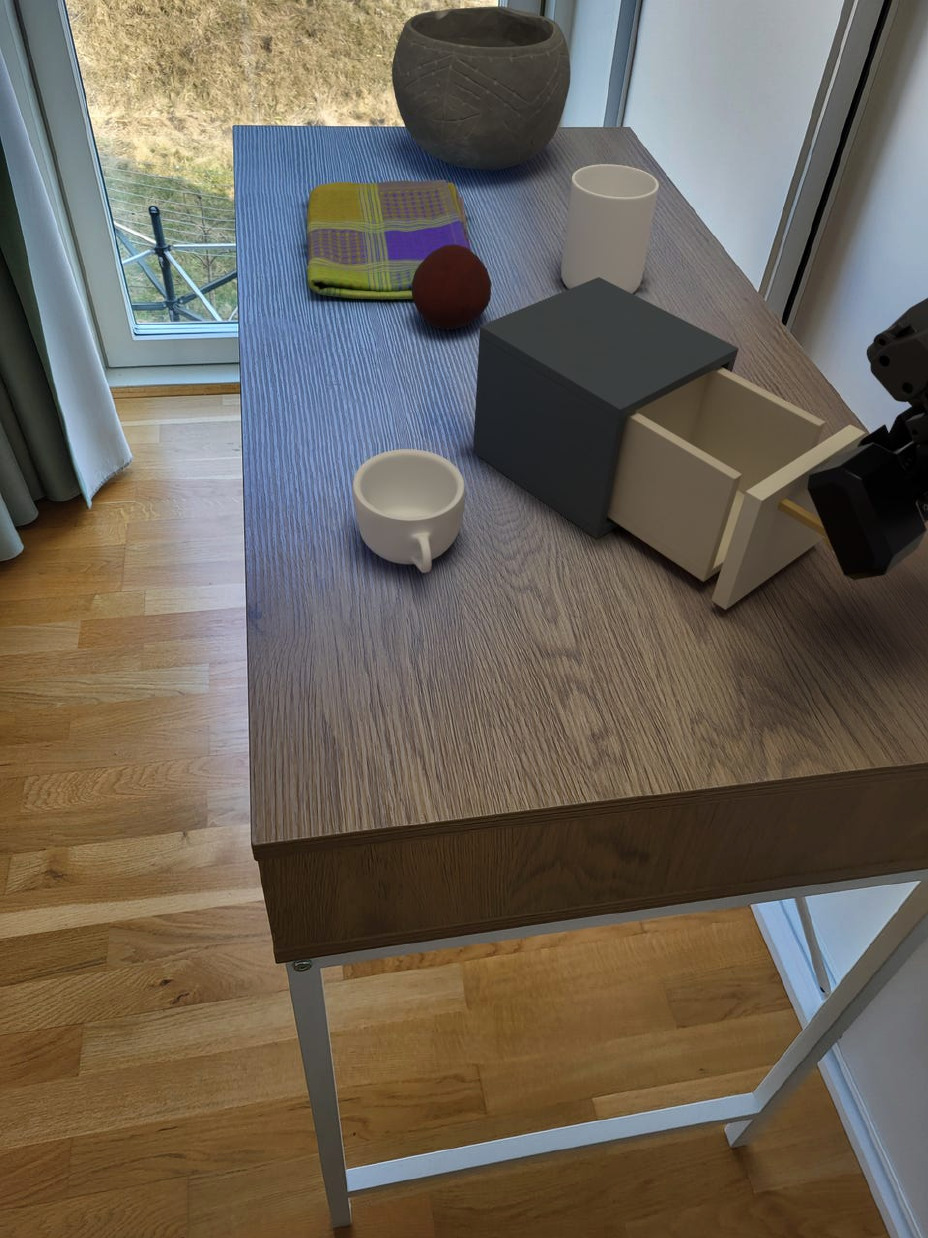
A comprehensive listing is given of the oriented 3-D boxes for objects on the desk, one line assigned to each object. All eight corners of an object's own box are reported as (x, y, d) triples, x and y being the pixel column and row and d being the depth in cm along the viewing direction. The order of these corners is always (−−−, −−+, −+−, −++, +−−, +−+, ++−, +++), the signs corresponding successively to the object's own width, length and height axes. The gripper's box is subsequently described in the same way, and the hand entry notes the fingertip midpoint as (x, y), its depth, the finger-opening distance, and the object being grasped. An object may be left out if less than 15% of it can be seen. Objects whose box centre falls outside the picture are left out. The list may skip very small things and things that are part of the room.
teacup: (347, 515, 70) (343, 455, 66) (448, 502, 72) (450, 443, 68) (370, 609, 63) (368, 549, 59) (481, 593, 65) (486, 533, 61)
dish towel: (300, 302, 92) (297, 275, 90) (309, 199, 109) (308, 174, 107) (479, 302, 93) (481, 275, 91) (461, 201, 110) (462, 176, 108)
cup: (543, 281, 97) (554, 179, 90) (610, 245, 104) (625, 147, 96) (610, 309, 93) (626, 205, 86) (675, 270, 100) (696, 170, 93)
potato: (399, 337, 88) (398, 265, 83) (426, 296, 94) (427, 226, 89) (475, 351, 87) (479, 278, 82) (498, 308, 93) (502, 238, 88)
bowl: (467, 209, 109) (473, 63, 98) (359, 152, 120) (354, 15, 109) (595, 169, 119) (613, 32, 108) (485, 120, 129) (491, -9, 119)
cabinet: (704, 474, 75) (739, 347, 67) (596, 539, 69) (620, 409, 61) (580, 398, 82) (598, 276, 74) (472, 452, 76) (479, 325, 68)
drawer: (881, 575, 66) (933, 467, 60) (786, 652, 61) (832, 543, 54) (687, 458, 75) (714, 353, 68) (589, 516, 70) (607, 408, 63)
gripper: (1094, 223, 50) (846, 330, 64) (911, 332, 41) (667, 429, 55) (1163, 416, 52) (907, 480, 65) (1001, 560, 43) (743, 600, 56)
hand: (813, 492), depth 61 cm, fingers closed
